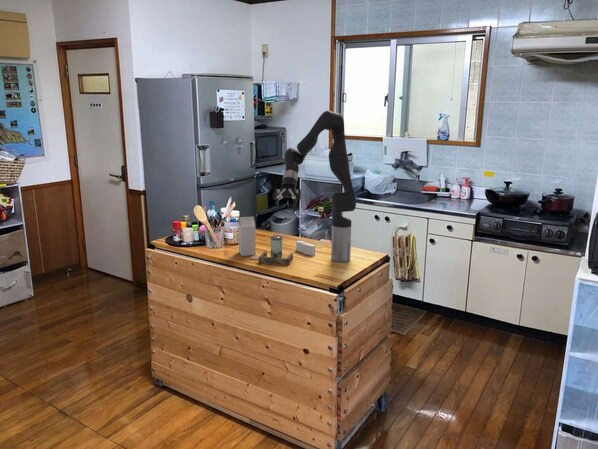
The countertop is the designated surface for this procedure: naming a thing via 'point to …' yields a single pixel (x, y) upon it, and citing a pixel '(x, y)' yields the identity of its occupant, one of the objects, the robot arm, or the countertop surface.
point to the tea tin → (276, 246)
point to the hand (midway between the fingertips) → (284, 206)
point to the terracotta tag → (255, 257)
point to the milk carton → (247, 236)
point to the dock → (275, 259)
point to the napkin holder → (305, 248)
